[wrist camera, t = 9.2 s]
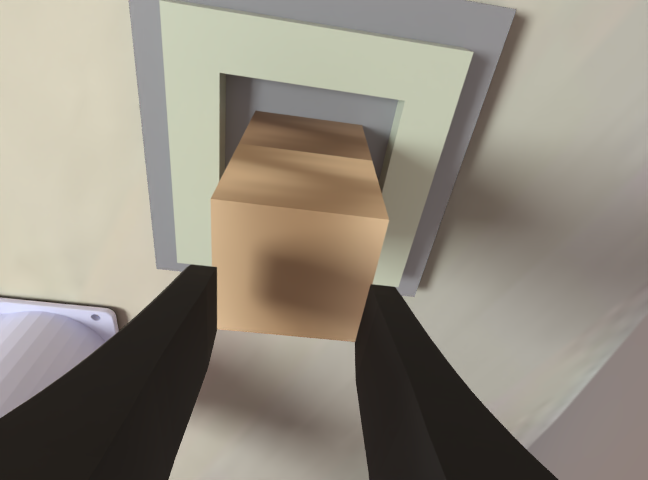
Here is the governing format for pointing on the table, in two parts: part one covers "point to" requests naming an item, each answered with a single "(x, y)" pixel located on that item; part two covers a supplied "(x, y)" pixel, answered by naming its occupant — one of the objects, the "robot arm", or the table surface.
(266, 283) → the tan block
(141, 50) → the plate
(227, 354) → the table surface
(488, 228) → the table surface
